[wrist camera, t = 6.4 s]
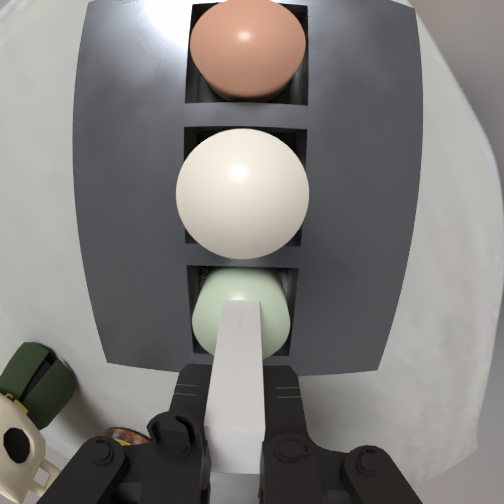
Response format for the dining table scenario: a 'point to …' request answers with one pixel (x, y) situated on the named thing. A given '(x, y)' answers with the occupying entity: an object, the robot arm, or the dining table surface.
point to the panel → (261, 119)
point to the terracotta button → (247, 49)
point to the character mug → (29, 418)
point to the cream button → (242, 193)
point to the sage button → (242, 288)
